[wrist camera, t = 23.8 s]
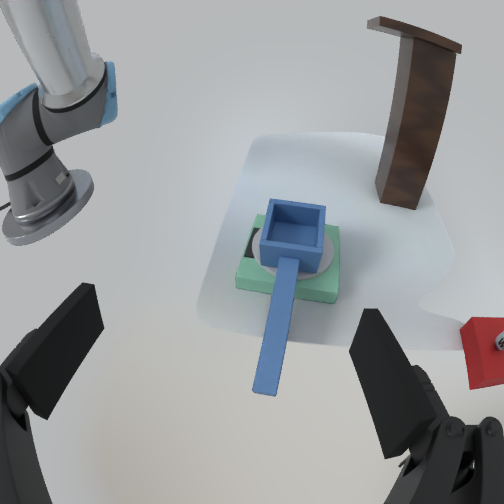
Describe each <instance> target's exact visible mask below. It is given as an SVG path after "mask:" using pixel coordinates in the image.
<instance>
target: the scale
mask: <svg viewBox="0 0 504 504" xmlns="http://www.w3.org/2000/svg"><path fill="white" fill-rule="evenodd" d="M265 217H266V216H265V215H258V214H257V216H256V219H255V222H254V225H253V227H252V230H251V233H250V236H249V239H248V242H247V245H246V247H245V250H244V253H243V256H242V259H241V262H240V265H239V267H238V270H237V273H236V276H235V278H236V288H240V289H246V290H251V291H257V292H263V293H268V294H272V293H273V288H274V283H275V278H276V273H277V268H275V267H268V266H262V265H260V250H259V242H260V238H261V234H262V230H263V226H264V221H265ZM338 290H339V226H332V225H326V224H325V228H324V241H323V253H322V257H321V260H320V264H319V267H318V270H317V273H316V274H315V273H308V272H302V271H298V276H297V283H296V289H295V296H294V298H299V299H305V300H312V301H318V302H325V303H332V304H334V303H335V301H336V298H337V296H338Z"/></svg>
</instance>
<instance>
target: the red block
mask: <svg viewBox="0 0 504 504" xmlns="http://www.w3.org/2000/svg"><path fill="white" fill-rule="evenodd" d="M460 333H461V338H462V343H463V348H464V353H465V359H466V365H467V372H468V379H469V387H470V390H472V389H479V388H484V387H490V386H495V385H500V384H504V318H491V317H471V318H470V320H469V321H468V322H467V323H466V324H465V325H464V326H463V327H462V328H461V329H460Z"/></svg>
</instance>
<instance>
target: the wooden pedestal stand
mask: <svg viewBox="0 0 504 504" xmlns="http://www.w3.org/2000/svg"><path fill="white" fill-rule="evenodd" d="M367 28H368V29H372V30H376V31H380V32H384V33H388V34H392V35H395V36H399V37H401V39H400V49H399V59H398V67H397V74H396V82H395V88H394V95H393V101H392V107H391V112H390V118H389V122H388V127H387V132H386V137H385V142H384V146H383V151H382V155H381V159H380V163H379V167H378V171H377V175H376V179H375V185H376V188H377V192H378V196H379V200H380V203H385V204H390V205H395V206H400V207H404V208H409V209H413V210H416V207H417V205H418V202H419V199H420V197H421V194H422V191H423V188H424V186H425V183H426V180H427V177H428V174H429V171H430V168H431V165H432V162H433V159H434V155H435V152H436V148H437V145H438V142H439V138H440V134H441V131H442V127H443V123H444V119H445V115H446V110H447V105H448V101H449V96H450V91H451V86H452V80H453V74H454V67H455V60H456V53H458V54H461V49H462V45H461V44H459V43H456V42H454V41H452V40H450V39H447V38H445V37H443V36H440V35H438V34H435V33H432V32H430V31H427V30H425V29H422V28H419V27H416V26H413V25H410V24H407V23H404V22H400V21H397V20H393V19H389V18H386V17H382V16H379V17H376V18H373V19H371V20H368V21H367Z"/></svg>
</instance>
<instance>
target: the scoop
mask: <svg viewBox="0 0 504 504" xmlns="http://www.w3.org/2000/svg"><path fill="white" fill-rule="evenodd" d="M325 210H326V206H321V205H314V204H307V203H300V202H293V201H285V200H277V199H270V200H269V205H268V209H267V213H266V217H265V221H264V226H263V230H262V234H261V238H260V242H259V250H260V265H262V266H268V267H275V268H277V273H276V278H275V283H274V288H273V293H272V299H271V304H270V309H269V313H268V318H267V323H266V328H265V333H264V338H263V343H262V347H261V352H260V357H259V361H258V366H257V370H256V375H255V379H254V384H253V388H252V391H253V392H254V393H258V394H264V395H270V396H276V394H277V389H278V384H279V379H280V374H281V369H282V364H283V359H284V354H285V348H286V343H287V337H288V332H289V326H290V320H291V314H292V308H293V302H294V296H295V289H296V283H297V276H298V271H302V272H308V273H315V274H316V273H317V270H318V267H319V264H320V260H321V257H322V253H323V241H324V228H325Z"/></svg>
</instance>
